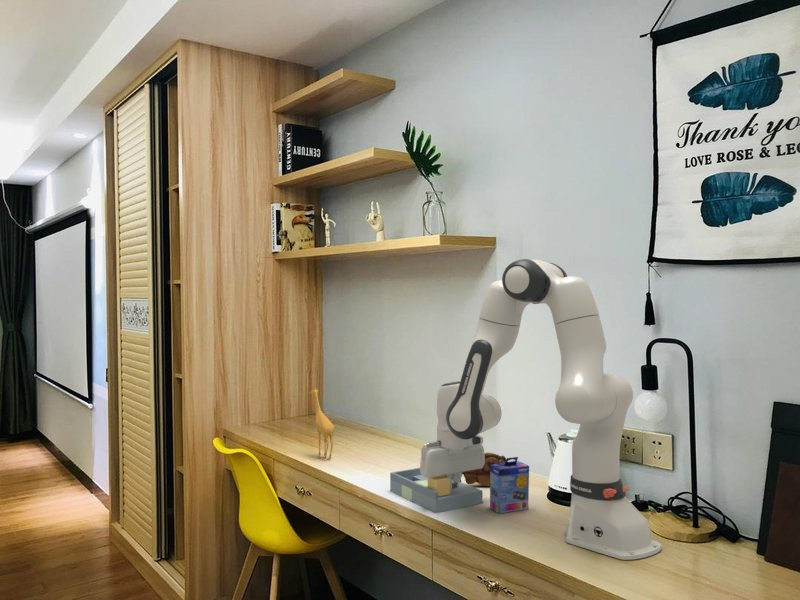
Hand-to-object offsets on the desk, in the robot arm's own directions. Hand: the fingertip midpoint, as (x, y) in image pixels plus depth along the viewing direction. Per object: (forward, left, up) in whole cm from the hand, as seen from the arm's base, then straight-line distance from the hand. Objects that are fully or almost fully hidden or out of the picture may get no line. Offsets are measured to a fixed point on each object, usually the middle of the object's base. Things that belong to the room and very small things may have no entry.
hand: (452, 488), depth 186 cm
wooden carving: (+8, -20, -5) cm, 22 cm away
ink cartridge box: (-12, -11, -5) cm, 16 cm away
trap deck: (+8, 0, -4) cm, 10 cm away
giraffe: (+69, +8, -5) cm, 70 cm away
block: (0, +5, -1) cm, 5 cm away
